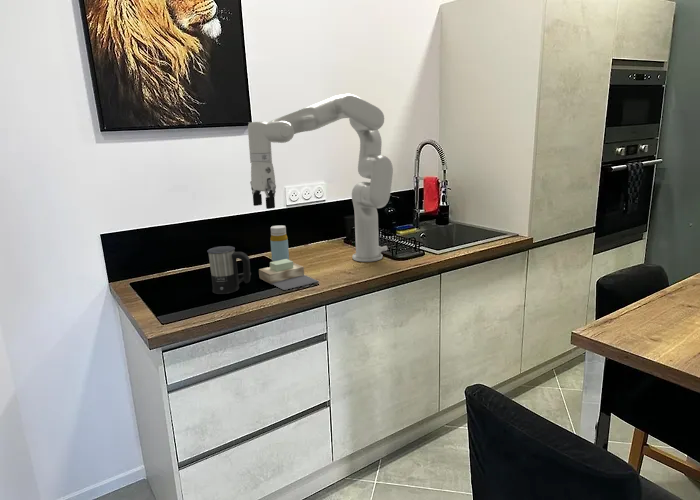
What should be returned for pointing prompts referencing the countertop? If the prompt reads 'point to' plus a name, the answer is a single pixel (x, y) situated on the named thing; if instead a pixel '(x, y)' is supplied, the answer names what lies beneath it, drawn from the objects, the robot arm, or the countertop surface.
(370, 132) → the robot arm
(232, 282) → the milk frother
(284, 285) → the rubber mat
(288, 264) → the green block
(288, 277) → the birch board
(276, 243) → the bottle
